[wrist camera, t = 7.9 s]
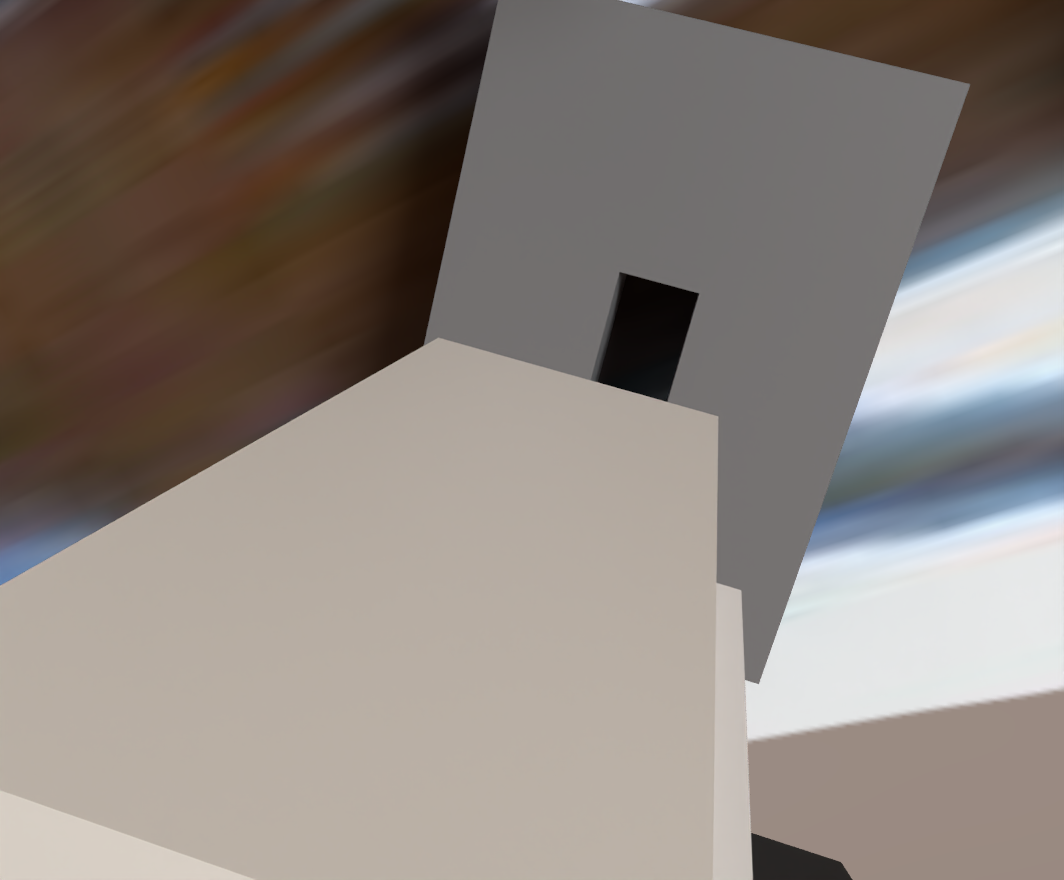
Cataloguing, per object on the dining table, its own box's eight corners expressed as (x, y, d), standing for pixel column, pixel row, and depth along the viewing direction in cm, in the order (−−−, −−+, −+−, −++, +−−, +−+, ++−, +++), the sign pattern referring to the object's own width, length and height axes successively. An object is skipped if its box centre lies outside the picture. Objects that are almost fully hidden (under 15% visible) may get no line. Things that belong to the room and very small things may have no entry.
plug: (502, 301, 16) (-222, 711, 4) (719, 361, 15) (711, 1037, 3) (422, 635, 17) (-247, 1661, 5) (616, 696, 17) (366, 1945, 5)
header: (528, -5, 34) (503, -28, 30) (941, 94, 32) (970, 84, 29) (409, 528, 40) (376, 565, 36) (755, 633, 38) (758, 683, 34)
